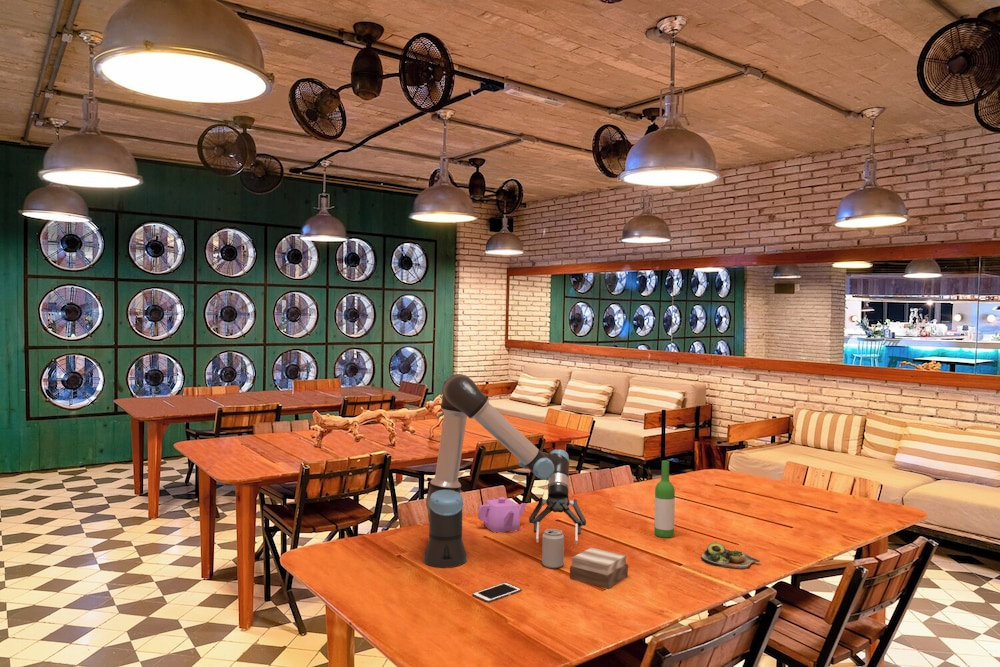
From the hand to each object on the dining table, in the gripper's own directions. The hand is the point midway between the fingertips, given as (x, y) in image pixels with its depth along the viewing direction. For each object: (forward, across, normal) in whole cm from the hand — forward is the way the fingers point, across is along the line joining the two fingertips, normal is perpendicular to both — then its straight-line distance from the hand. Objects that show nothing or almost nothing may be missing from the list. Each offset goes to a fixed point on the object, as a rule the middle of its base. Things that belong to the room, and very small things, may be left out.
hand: (556, 541), depth 237 cm
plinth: (+13, -14, +2) cm, 20 cm away
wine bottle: (-22, -42, -34) cm, 58 cm away
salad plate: (-4, -60, -16) cm, 63 cm away
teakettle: (-22, +23, -34) cm, 47 cm away
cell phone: (+26, +18, +15) cm, 35 cm away
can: (+7, +1, -4) cm, 8 cm away
